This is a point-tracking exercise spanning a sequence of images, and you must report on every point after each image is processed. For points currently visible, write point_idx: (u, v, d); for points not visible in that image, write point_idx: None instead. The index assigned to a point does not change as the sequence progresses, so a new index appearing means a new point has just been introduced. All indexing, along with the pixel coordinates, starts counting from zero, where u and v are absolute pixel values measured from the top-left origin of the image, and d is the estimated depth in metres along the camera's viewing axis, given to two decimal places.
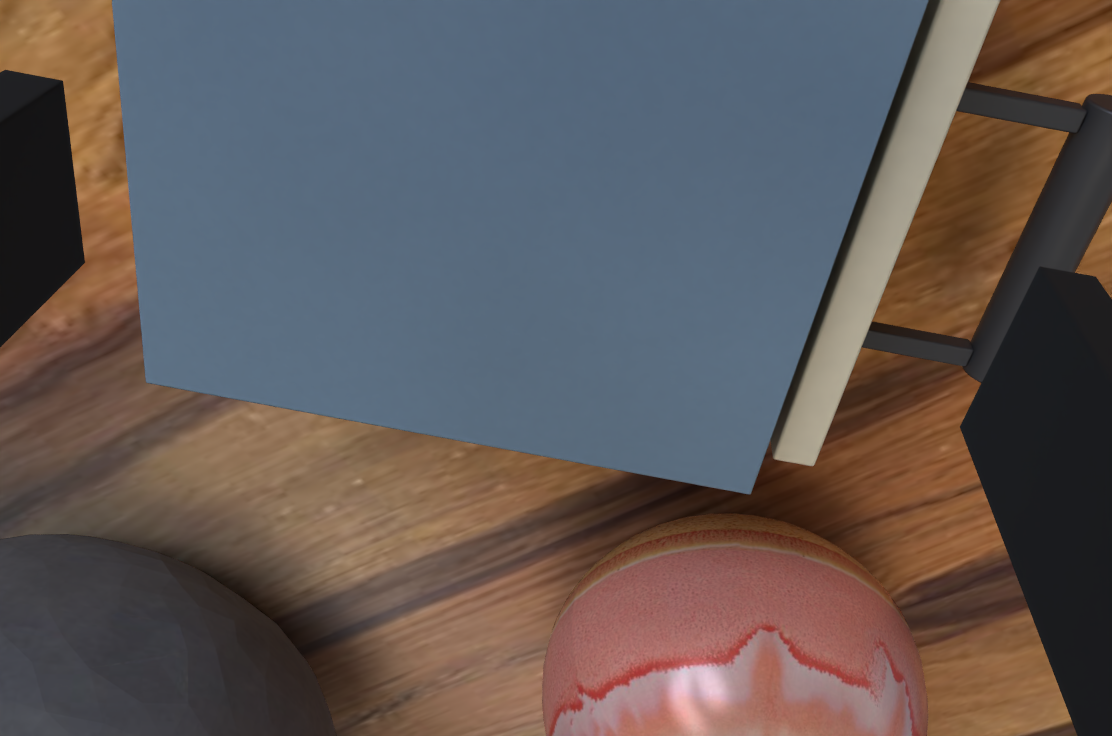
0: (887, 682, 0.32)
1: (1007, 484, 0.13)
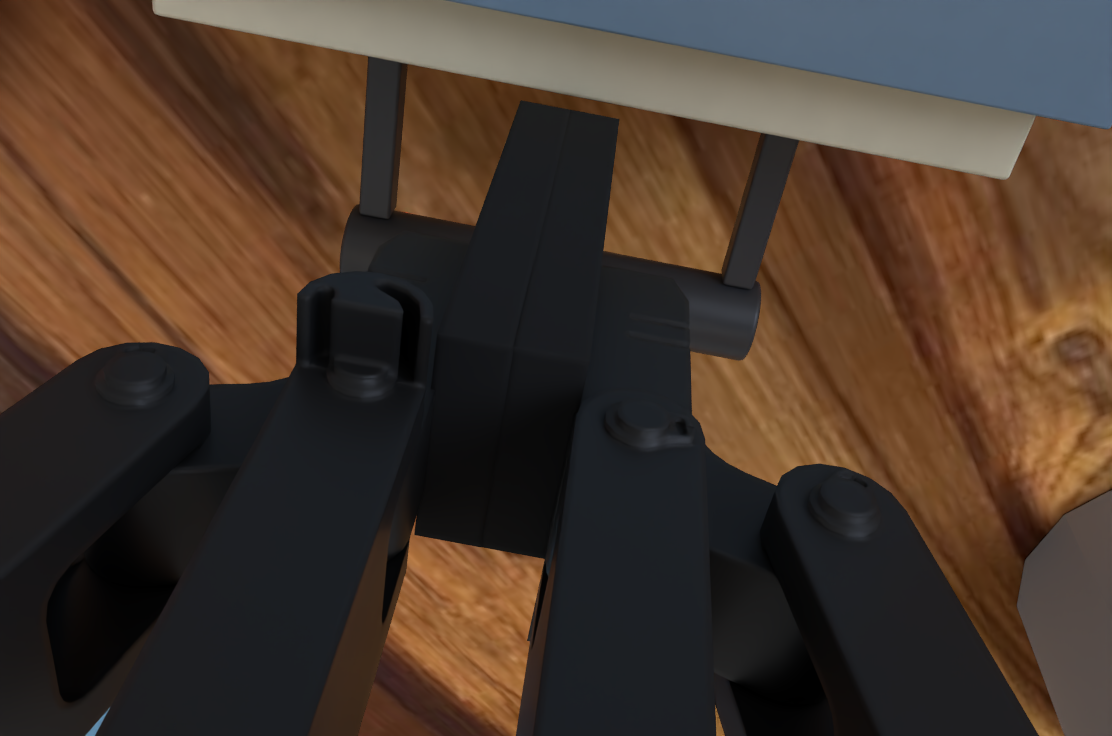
0: None
1: None
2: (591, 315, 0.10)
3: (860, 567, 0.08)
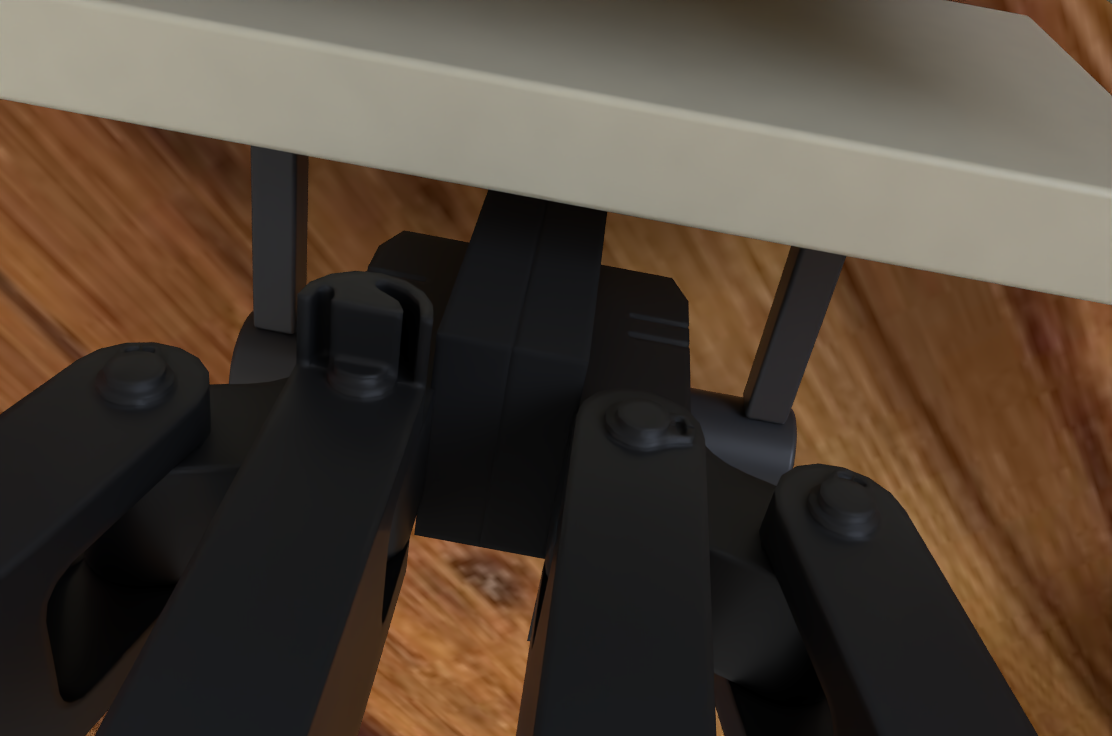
0: None
1: None
2: (591, 315, 0.10)
3: (859, 567, 0.08)
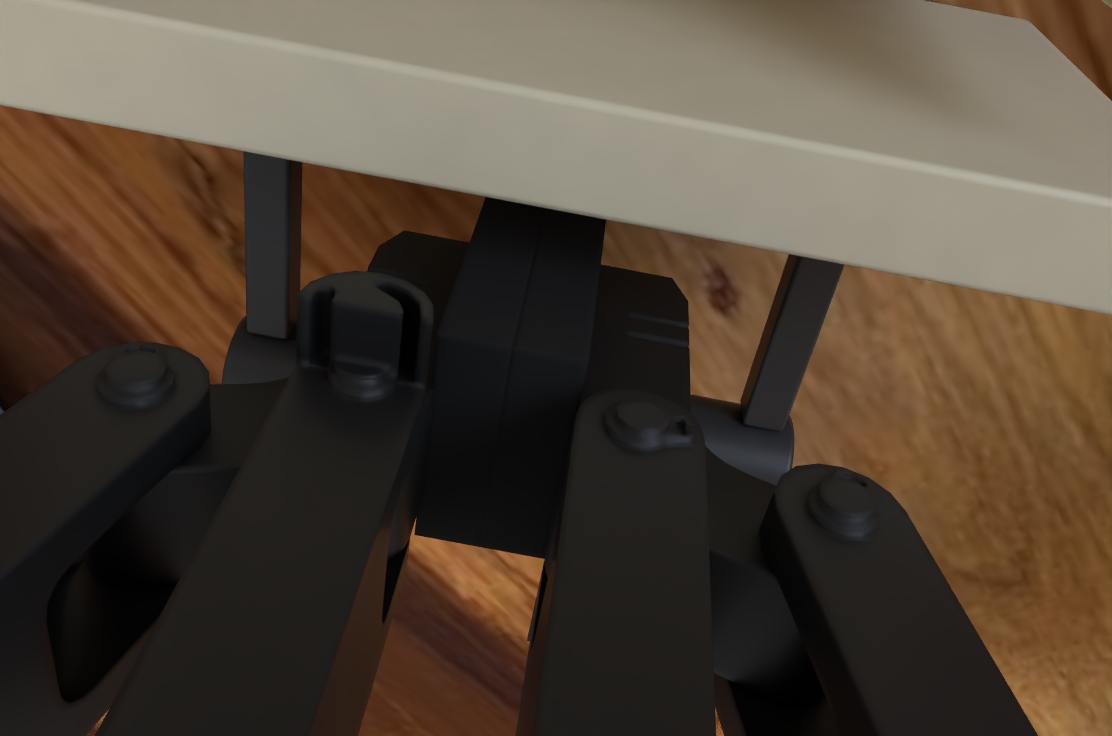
0: None
1: None
2: (590, 315, 0.10)
3: (859, 567, 0.08)
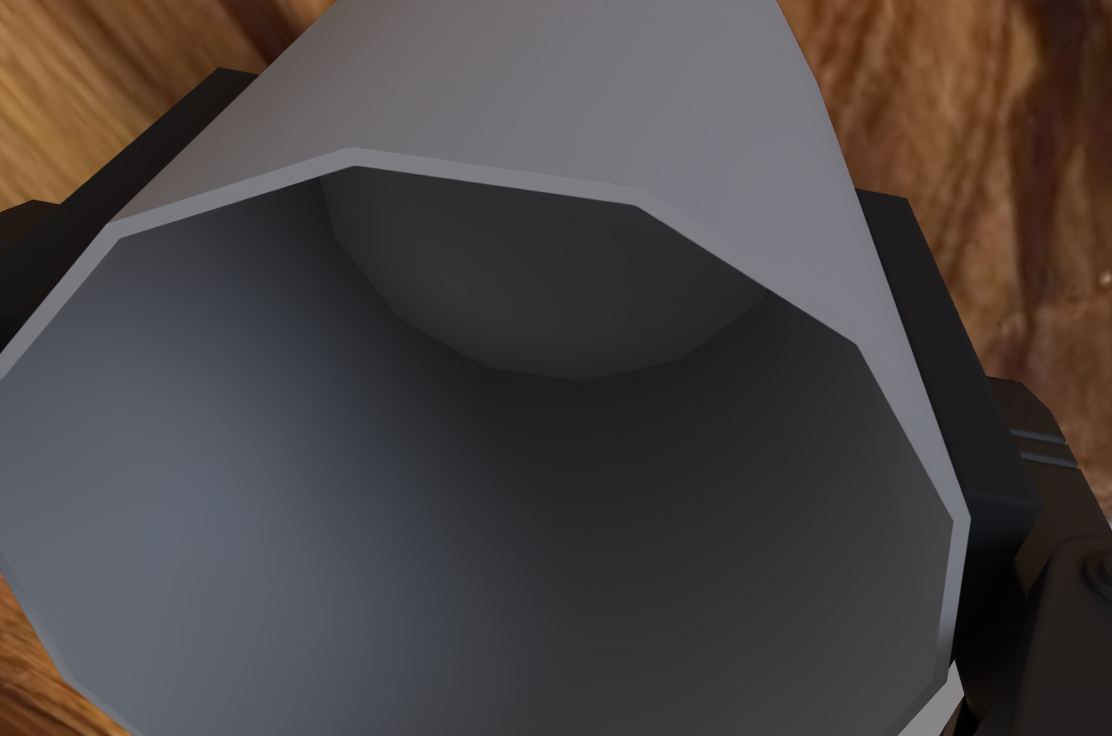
0: None
1: None
2: (1013, 446, 0.10)
3: None
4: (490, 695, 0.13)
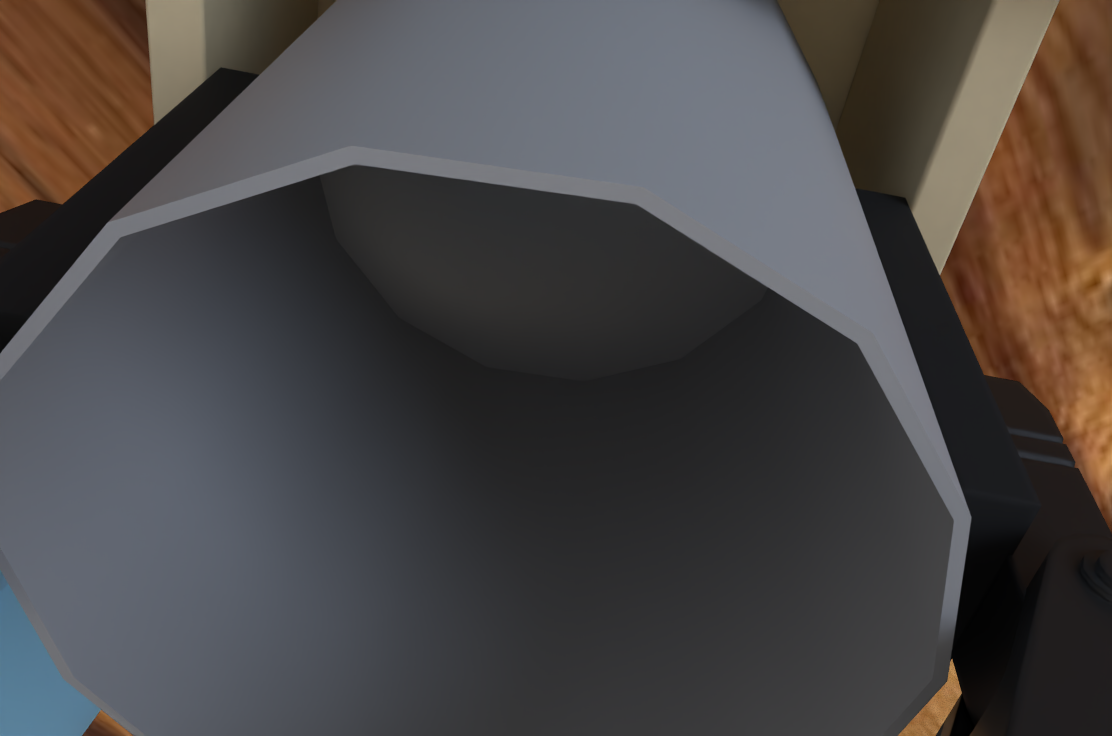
0: None
1: None
2: (1010, 445, 0.10)
3: None
4: (490, 695, 0.13)
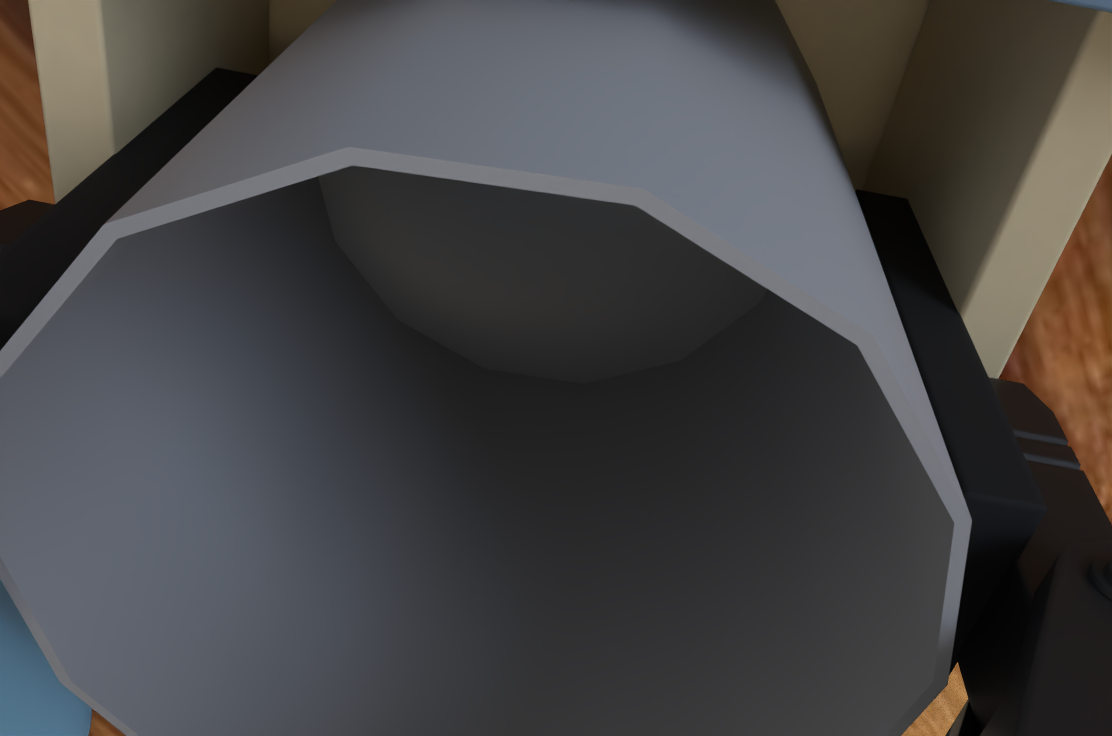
0: None
1: None
2: (1016, 448, 0.10)
3: None
4: (489, 698, 0.13)
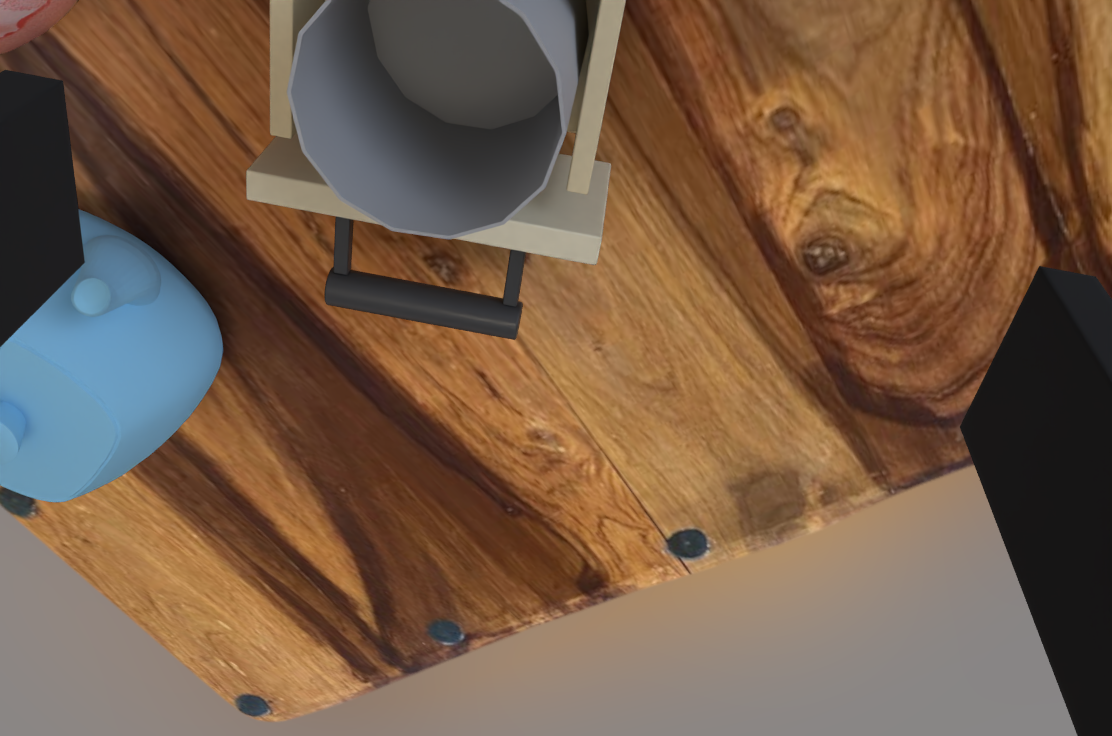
0: (15, 13, 0.34)
1: (1007, 484, 0.13)
2: None
3: None
4: (440, 205, 0.35)
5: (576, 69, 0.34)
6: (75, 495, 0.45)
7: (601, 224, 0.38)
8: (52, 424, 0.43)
